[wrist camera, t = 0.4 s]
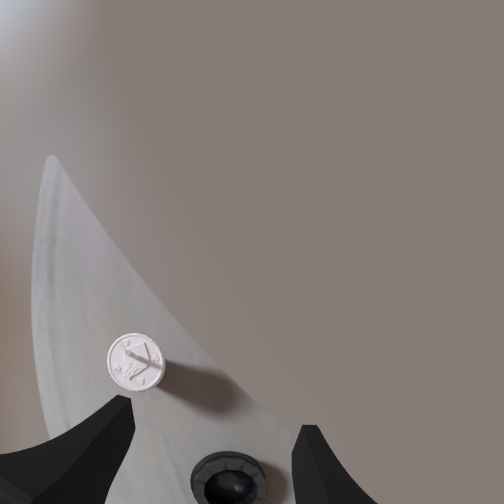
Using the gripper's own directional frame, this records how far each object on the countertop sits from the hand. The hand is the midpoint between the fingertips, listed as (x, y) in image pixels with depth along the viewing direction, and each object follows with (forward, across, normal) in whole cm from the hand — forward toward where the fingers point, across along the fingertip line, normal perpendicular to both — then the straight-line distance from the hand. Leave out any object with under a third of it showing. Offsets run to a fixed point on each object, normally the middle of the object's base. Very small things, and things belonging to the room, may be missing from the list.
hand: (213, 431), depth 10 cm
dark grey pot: (+14, -2, +27) cm, 31 cm away
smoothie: (+22, +11, +16) cm, 30 cm away
